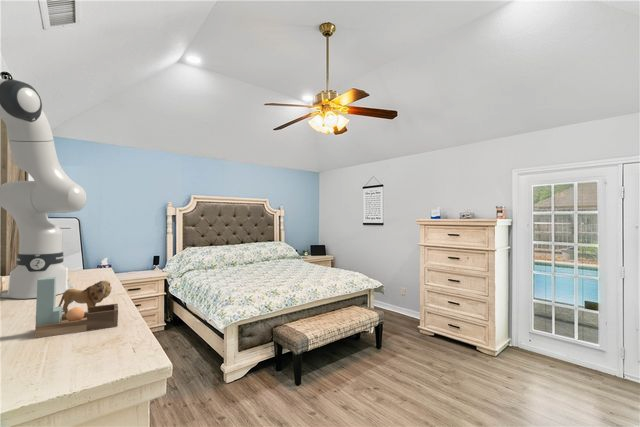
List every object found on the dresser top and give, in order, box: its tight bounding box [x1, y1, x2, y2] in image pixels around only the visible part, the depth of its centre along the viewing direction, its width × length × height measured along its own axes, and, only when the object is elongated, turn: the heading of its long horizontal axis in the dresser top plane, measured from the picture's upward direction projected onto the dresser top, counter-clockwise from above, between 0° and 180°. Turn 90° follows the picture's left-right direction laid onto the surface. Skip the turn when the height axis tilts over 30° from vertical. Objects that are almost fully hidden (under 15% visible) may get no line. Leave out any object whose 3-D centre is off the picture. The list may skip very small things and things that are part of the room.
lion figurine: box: [57, 280, 112, 316], centre depth 87 cm, size 15×5×9 cm, turn 102°
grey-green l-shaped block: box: [34, 277, 63, 329], centre depth 73 cm, size 4×4×11 cm
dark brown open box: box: [86, 303, 119, 332], centre depth 78 cm, size 7×6×4 cm
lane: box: [34, 312, 88, 339], centre depth 74 cm, size 7×9×2 cm
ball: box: [65, 307, 85, 322], centre depth 75 cm, size 4×4×4 cm
